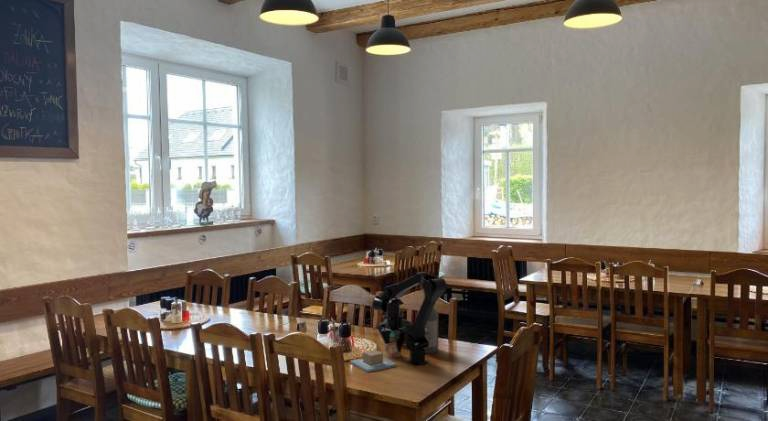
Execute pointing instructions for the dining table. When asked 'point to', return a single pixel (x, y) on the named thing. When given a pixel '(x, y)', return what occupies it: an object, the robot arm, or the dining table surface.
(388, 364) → the blueprint board
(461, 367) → the dining table surface
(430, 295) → the robot arm
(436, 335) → the liquor
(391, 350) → the terracotta block
